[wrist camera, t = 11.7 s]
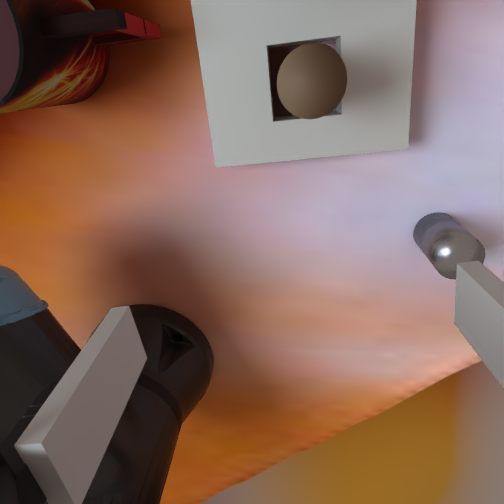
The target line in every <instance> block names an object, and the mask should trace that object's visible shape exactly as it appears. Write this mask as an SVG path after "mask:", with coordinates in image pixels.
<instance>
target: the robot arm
mask: <svg viewBox="0 0 504 504" xmlns="http://www.w3.org/2000/svg"><path fill="white" fill-rule="evenodd" d="M48 306H49V305H48V303H47V302H46V301H45V300H41V299H40V298H39V297H38V296H37V295H36V294H35V293H34V292H33V291H32V289H31V288H30V287H29V286H28V285H27V284H26V283H25V282H24V281H23V280H22V279H21V277H20V276H19V275H18V274H17V273H16V272H14V271H13V270H11V269H10V268H7V267H5V266H1V265H0V504H159V503H160V500H161V496H162V493H163V489H164V485H165V482H166V478H167V475H168V471H169V468H170V464H171V460H172V457H173V453H174V450H175V446H176V442H177V439H178V435H179V432H180V428H181V425H182V423H183V422H184V421H185V419H186V418H187V417H188V415H189V414H190V413H191V411H192V410H193V409H194V407H195V406H196V404H197V403H198V402H199V400H200V399H201V398H202V397H203V395H204V394H205V392H206V390H207V388H208V386H209V383H210V379H211V375H212V371H213V354H212V350H211V347H210V345H209V343H208V341H207V339H206V337H205V336H204V335H203V333H202V332H201V331H200V330H199V329H198V328H197V327H196V326H195V325H194V324H193V323H192V322H191V321H189V320H188V319H186V318H185V317H183V316H182V315H180V314H178V313H176V312H174V311H171V310H169V309H166V308H162V307H158V306H152V305H132V306H122V307H114V308H111V309H110V311H109V312H108V314H107V315H106V316H105V318H104V319H103V320H102V321H101V322H100V323H99V325H98V326H97V327H96V329H95V330H94V331H93V333H92V334H91V336H90V338H89V340H88V342H87V343H86V345H85V346H84V347H83V349H82V350H81V349H80V348H79V347H78V346H77V345H76V343H75V342H74V341H73V340H72V338H71V337H70V336H69V335H68V333H67V332H66V331H65V330H64V328H63V327H62V326H61V325H60V323H59V322H58V321H57V320H56V318H55V317H54V316H53V315H52V313H51V312H50V311H49V310H48V308H47V307H48ZM454 324H455V325H456V327H457V328H458V329H459V331H460V332H461V333H462V335H463V336H464V337H465V338H466V340H467V341H468V342H469V344H470V345H471V346H472V348H473V349H474V350H475V352H476V353H477V354H478V355H479V357H480V358H481V359H482V361H483V362H484V363H485V365H486V366H487V367H488V368H489V370H490V371H491V373H492V374H493V375H494V376H495V378H496V379H497V380H498V382H499V383H500V384H501V385H502V387H503V388H504V282H503V281H501V280H500V279H499V278H498V277H497V276H496V275H494V274H493V273H492V272H491V271H490V270H489V269H487V268H486V267H485V266H484V265H483V264H482V263H480V262H479V261H472V262H464V263H457V275H456V296H455V317H454Z"/></svg>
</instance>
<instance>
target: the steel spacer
mask: <svg viewBox="0 0 504 504" xmlns="http://www.w3.org/2000/svg"><path fill="white" fill-rule="evenodd" d="M413 237H414V240H415V242H416V244H417V245H418V246H419V248H420V249H421V250H422V252H423V253H424V254H425V255H426V257H427V258H428V259H429V261H430V262H431V263H432V264H433V266H434V267H435V268H436V270H437V271H438V272H439V273H440V274H441V275H442V276H444V277H446V278H449V279H456V275H457V263H464V262H472V261H479V262H480V263H482V264H483V262H484V259H485V249H484V247H483V245H482V244H481V243H480V242H479V241H478V240H477V239H476V238H475V237H474V236H472V235H471V234H470V233H469V232H468V231H467V230H465V229H464V228H463V227H462V226H461V225H460V224H458V223H457V222H456V221H455V220H454V219H453V218H452V217H450V216H449V215H447V214H445V213H431V214H428V215H426V216H425V217H423V218H422V219H420V221H419V222H418V223H417V224H416V226H415V228H414V232H413Z"/></svg>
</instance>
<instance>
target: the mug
mask: <svg viewBox="0 0 504 504" xmlns="http://www.w3.org/2000/svg"><path fill="white" fill-rule="evenodd" d="M148 39H161V32H160V25H158V24H155V23H153V22H150V21H148V20H145V19H141V18H139V17H136V16H133V15H131V14H128V13H126V12H123V11H121V10H118V9H115V8H110V9H99V10H95V9H94V7H93V6H92V5H91V4H90V2H89V1H88V0H0V113H5V112H13V111H20V110H28V109H35V108H42V107H50V106H57V105H65V104H72V103H77V102H80V101H83V100H85V99H87V98H88V97H90V96H92V95H93V94H94V93H95V92H96V91H97V90H98V89H99V87H100V85H101V84H102V82H103V81H104V78H105V76H106V73H107V70H108V63H109V45H113V44H120V43H127V42H134V41H141V40H148Z"/></svg>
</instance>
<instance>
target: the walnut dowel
mask: <svg viewBox="0 0 504 504" xmlns="http://www.w3.org/2000/svg"><path fill="white" fill-rule="evenodd" d="M346 87H347V71H346V67H345V64H344V62H343V60H342V58H341V57H340V55H339V54H338V53H337V52H336V51H335V50H334V49H332V48H331V47H329V46H327V45H324V44H320V43H309V44H304V45H302V46H299V47H297V48H296V49H294V50H293V51H292V52H291V53H289V54H288V56H287V57H286V58H285V59H284V61H283V62H282V64H281V66H280V69H279V72H278V76H277V91H278V95H279V98H280V100H281V102H282V104H283V105H284V107H285V108H286V109H287V110H288V111H289V112H290V113H291V114H293V115H295V116H297V117H299V118H303V119H317V118H321V117H323V116H325V115H327V114H329V113H330V112H332V111H333V110H334V109H335V108H336V107H337V106H338V104H339V103H340V102H341V100H342V98H343V96H344V94H345V91H346Z"/></svg>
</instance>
